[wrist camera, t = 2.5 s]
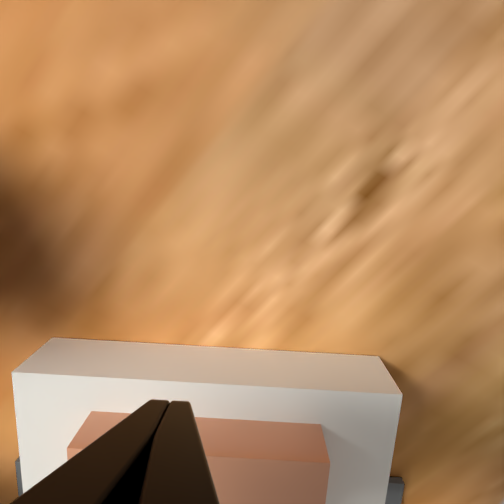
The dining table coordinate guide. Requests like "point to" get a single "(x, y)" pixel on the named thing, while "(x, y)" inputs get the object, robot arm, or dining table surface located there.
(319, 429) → the pink rectangular block
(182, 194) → the dining table surface
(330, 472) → the block
